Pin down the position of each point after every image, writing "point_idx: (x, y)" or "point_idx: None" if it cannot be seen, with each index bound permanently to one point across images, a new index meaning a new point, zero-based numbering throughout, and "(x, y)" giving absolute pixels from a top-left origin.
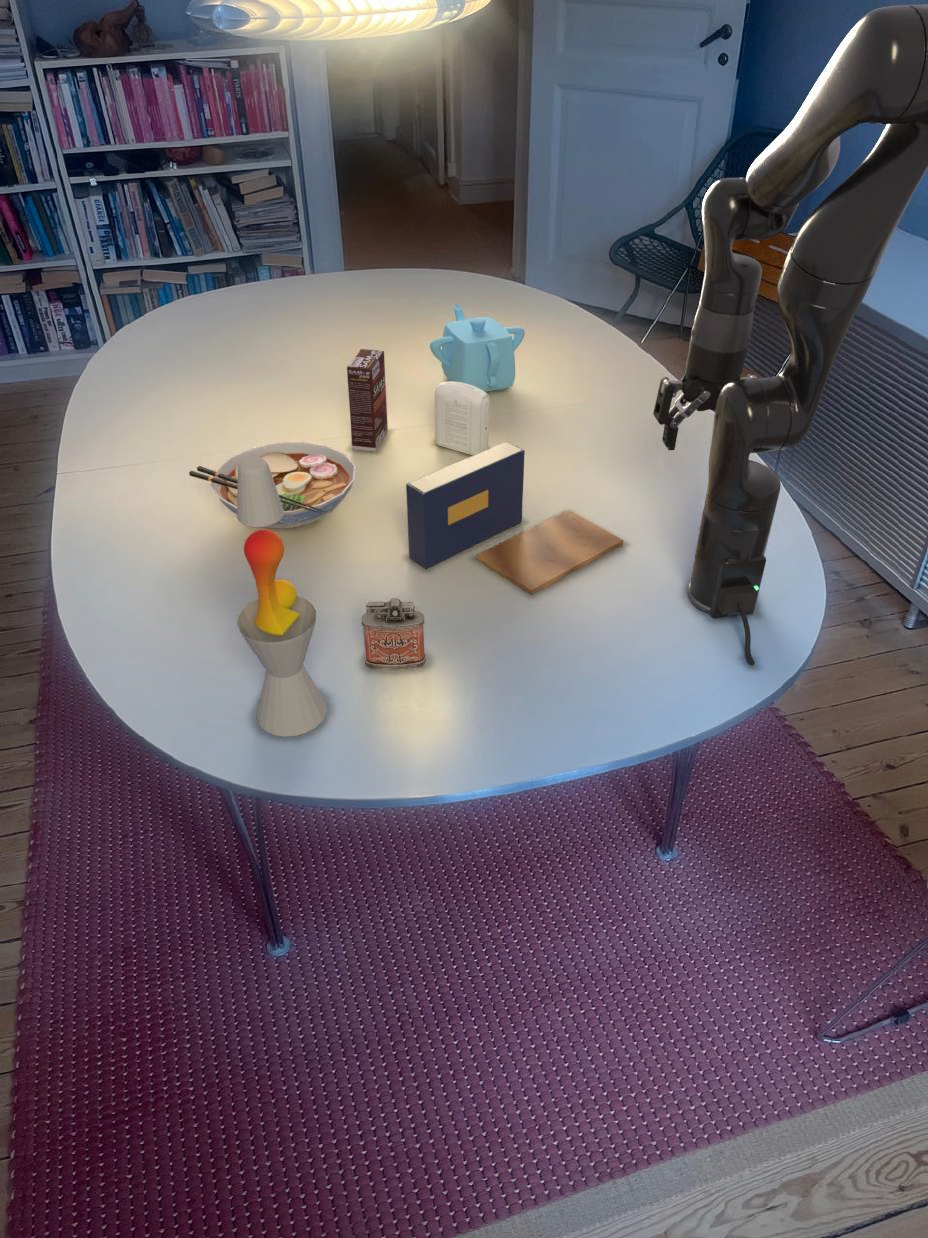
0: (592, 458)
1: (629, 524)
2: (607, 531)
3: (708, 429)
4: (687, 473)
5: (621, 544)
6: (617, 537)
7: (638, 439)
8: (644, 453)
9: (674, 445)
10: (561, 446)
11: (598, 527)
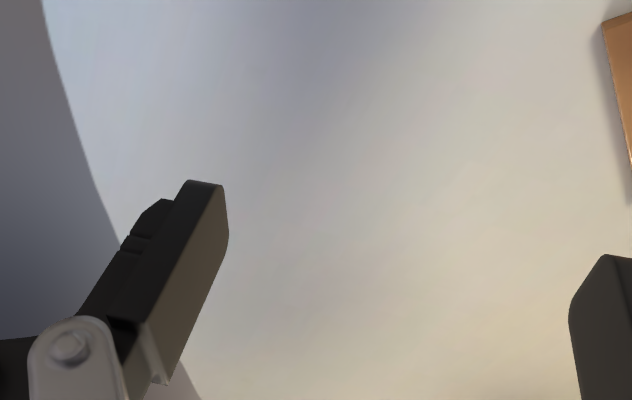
0: (430, 321)
1: (507, 109)
2: (616, 87)
3: None
4: (259, 234)
5: (611, 20)
6: (612, 49)
7: (312, 332)
8: (320, 303)
9: (629, 284)
10: (467, 359)
11: (627, 112)
